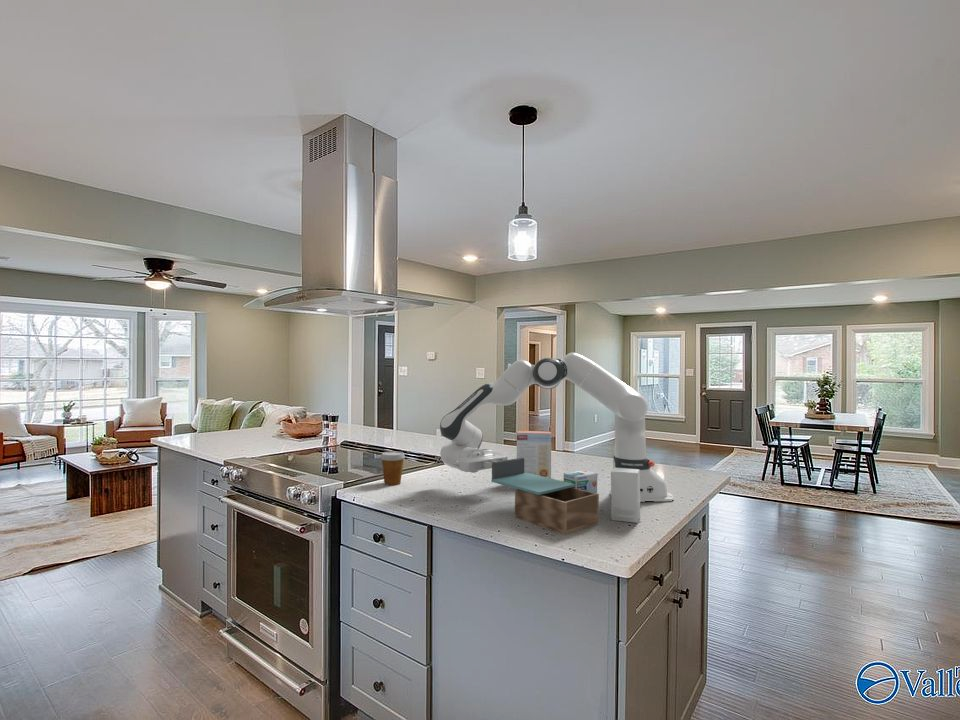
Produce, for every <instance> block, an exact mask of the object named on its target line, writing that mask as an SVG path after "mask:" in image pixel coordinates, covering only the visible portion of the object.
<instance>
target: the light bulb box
mask: <svg viewBox="0 0 960 720" xmlns="http://www.w3.org/2000/svg"><path fill="white" fill-rule="evenodd" d="M563 481H564V482H568V483H572V484H575V487H573V488H577V489H581V490H585V491H589V492H593V493H597V494H598V473H597V472H594V471H593V472H592V471H588V470H585V469H582V470H578V471H570V472H564V473H563Z"/></svg>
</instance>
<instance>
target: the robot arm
mask: <svg viewBox="0 0 960 720" xmlns="http://www.w3.org/2000/svg"><path fill="white" fill-rule="evenodd" d="M565 380H566V381H569V382H570V383H572V384H574V385H575V386H577V387H579V389H581V390H583V392H585V393H587V394H588V395H589V396H591V398H593V399H595V400H596V401H598V402H599V403H600V404H602V405H603V406H604V407H606V408H607V409H609V410H610V411H611V412H613V413H614V455H613V459H612V460H613V461H612V470H613V469H614V468H627V469H640V503H641V502H643V503H644V502H645V501H654V502H673V501H674V500H673V499H675V498H674V495H673V494H672V493H671V492H669V491H668V487H667V483H666V481H665V480H664V478H663V477H662V476H660V475H659V474H658V473H657V472H655V471H654V470H653V469H652V468H653V467H655V461H653V460H650V459H648V458H647V457H646V452H647V451H646V450H647V449H646V448H647V445H646V443H647V440H646V439H647V438H646V437H647V433H646V414H647V413H648V406H649V405H648V403H647V402H648V401H647V400H646V397H644V396H643V395H642V394H641V393H639V392H638V391H637V390H635V389H634V388H632V387H631V386H630V385H627V384H626V383H625V382H623V381H622V380H620V379H619V378H618V377H616V376H615V375H613V374H612V373H610V372H609V371H608V370H607V369H604V368H603V367H602V366H600V365H599V364H597V363H596V362H594V361H593V360H591V359H590V358H588V357H586V356H584V355H582V354H580V353H577V352H569V353H567V354H566V355H564V357H563V358H562V359H561V358H552V357H546V358H545V357H544V358H541V359H540V360H538V361H537V362H536V363H535V364H531V362H529V361H527V360H524V359H517V360H516V361H514V362H513V363H511V364H510V365H509V366H508V367H507V368H506V369H505V370H504V371H503V372H502V374H500V376H499V377H498V378H497V379H495V380H494V381H493V382H491V383H486V384H483V385H481V386H480V387H478V388H477V389H476V390H475V391H474V392H472V393H471V394H470V395H469V396H468V397H467V398H466V399H465V400H463V401H462V403H460V404H459V405H458V406H456V407H455V408H454V409H453V410H452V411H450V412H448V413H447V414H446V415H444V416H443V417H442V419H441V420H440V424H439V430H440V433H441V436H442V437H444V438H445V439H448V440H450V442H449V443H447V444H444V445H442V447H441V449H440V451H439V454H440V459H441V461H442V462H443V464H445V465H446V466H448V467H450V468H454V469H456V470H459V471H461V472H463V473H464V472H465V473H473V474H475V473H477V472H479V471H483V470H484V471H485V470H490V469H492V462H497V461H504V460H509V458H508V457H509V456H508V455H507V454H504V453H500V452H496V451H493V450H492V449H489V448H488V449H487V448H483V449H482V448H480V447H481V445H482V441H483V431H482V430H481V429H480V428H478V427H477V426H476V425H474V424H473V423H471V422H470V421H468V420H467V419H468V418H469V416H471V415H472V414H473V413H474V412H476V410H477V409H479V408H480V407H481V406H483V405H486V404H492V405H497V406H510V405H512V404H514V403H515V402H517V400H519V398H521V396H522V394H524V393H525V391H526V390H527V389H528V388H529V387H530V386H532V385H535V386H538V387H540V388H541V389H545V390H551V389H555V388H556V387H558V386H559V385H560V383H561V382H562V381H565ZM609 495H610V496H611V489H610V490H609ZM672 500H673V501H672ZM645 503H646V502H645Z"/></svg>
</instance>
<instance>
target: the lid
mask: <svg viewBox="0 0 960 720" xmlns="http://www.w3.org/2000/svg"><path fill="white" fill-rule="evenodd" d="M491 483H494V484H498V485H502V486H505V487H509V488H512V489H514V490H515V489H519V490H523V491H526V492H530V493H533V494H537V495H542V494H546V493H550V492H554V491H559V490H563V489H567V488H571V487H575V484H572V483H568V482H564V480H563V481H562V480H559V479H555V478H552V477H551V478H547V477H543V476H539V475H534V474H530V473H524V458H517V457H516V458H511V459H508V460H504V461H497V462H492V468H491Z"/></svg>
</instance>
